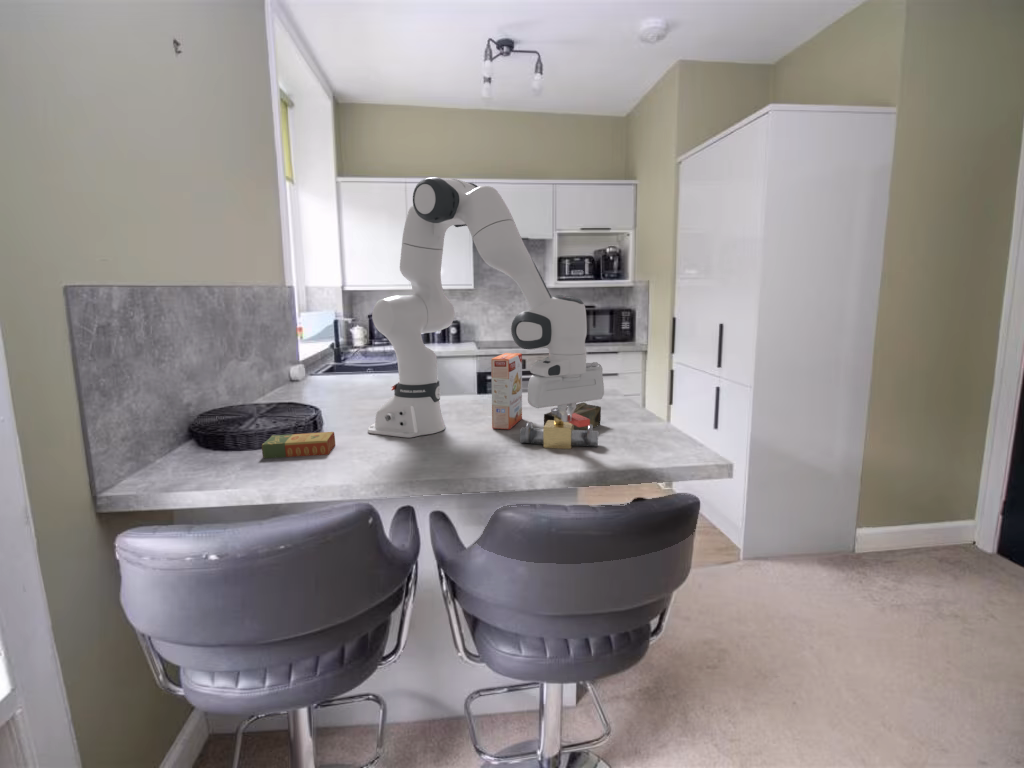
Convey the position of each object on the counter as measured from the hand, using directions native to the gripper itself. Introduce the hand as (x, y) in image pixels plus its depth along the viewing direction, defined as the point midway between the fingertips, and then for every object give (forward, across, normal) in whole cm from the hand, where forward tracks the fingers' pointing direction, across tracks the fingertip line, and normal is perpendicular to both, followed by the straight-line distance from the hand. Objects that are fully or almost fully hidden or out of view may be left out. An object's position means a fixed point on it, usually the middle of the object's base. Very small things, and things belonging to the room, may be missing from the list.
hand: (566, 421), depth 125 cm
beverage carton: (+9, -14, -17) cm, 24 cm away
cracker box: (+9, -2, -33) cm, 35 cm away
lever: (+1, -3, -3) cm, 4 cm away
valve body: (+8, -3, -8) cm, 12 cm away
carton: (+10, +56, -39) cm, 69 cm away
